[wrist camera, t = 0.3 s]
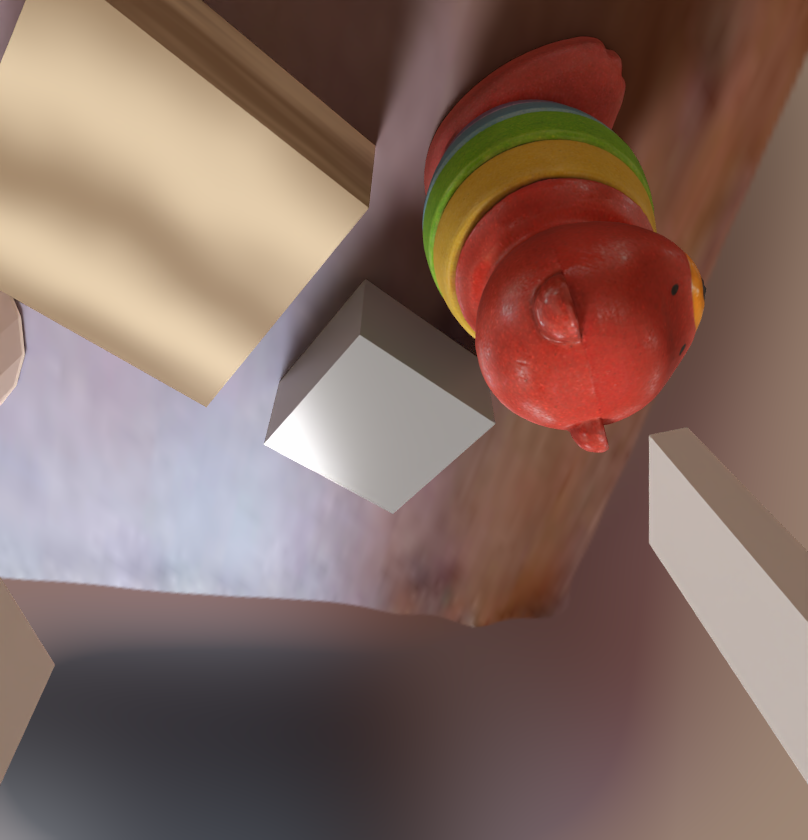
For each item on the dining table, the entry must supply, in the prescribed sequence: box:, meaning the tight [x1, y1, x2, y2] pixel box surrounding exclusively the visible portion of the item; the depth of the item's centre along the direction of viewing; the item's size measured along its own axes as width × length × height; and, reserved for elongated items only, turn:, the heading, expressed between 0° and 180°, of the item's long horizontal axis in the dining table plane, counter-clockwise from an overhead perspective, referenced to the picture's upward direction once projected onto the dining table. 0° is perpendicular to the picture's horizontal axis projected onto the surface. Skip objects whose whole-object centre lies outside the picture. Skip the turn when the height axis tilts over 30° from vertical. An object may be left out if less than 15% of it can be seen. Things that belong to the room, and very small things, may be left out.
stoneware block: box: [264, 279, 495, 514], centre depth 39 cm, size 9×9×6 cm
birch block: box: [0, 0, 375, 407], centre depth 30 cm, size 13×13×8 cm
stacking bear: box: [422, 36, 706, 452], centre depth 26 cm, size 11×10×18 cm
